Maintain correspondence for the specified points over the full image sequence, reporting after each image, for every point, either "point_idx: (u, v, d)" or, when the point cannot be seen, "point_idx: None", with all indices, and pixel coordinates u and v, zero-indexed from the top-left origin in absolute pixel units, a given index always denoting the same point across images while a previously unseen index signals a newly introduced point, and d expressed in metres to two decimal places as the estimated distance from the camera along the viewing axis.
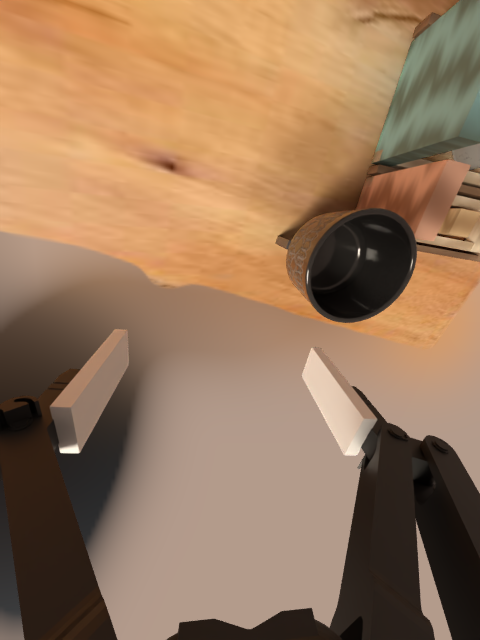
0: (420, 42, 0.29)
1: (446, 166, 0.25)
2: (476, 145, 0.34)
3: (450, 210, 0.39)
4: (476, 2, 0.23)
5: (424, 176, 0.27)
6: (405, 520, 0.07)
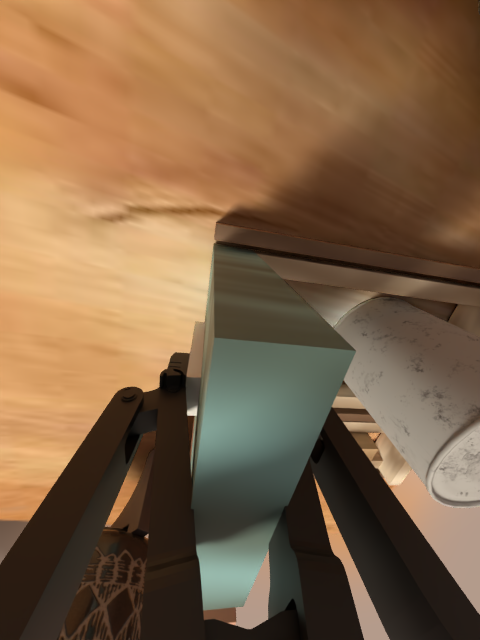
0: None
1: None
2: (349, 386, 0.20)
3: None
4: (209, 311, 0.10)
5: None
6: (305, 473, 0.08)
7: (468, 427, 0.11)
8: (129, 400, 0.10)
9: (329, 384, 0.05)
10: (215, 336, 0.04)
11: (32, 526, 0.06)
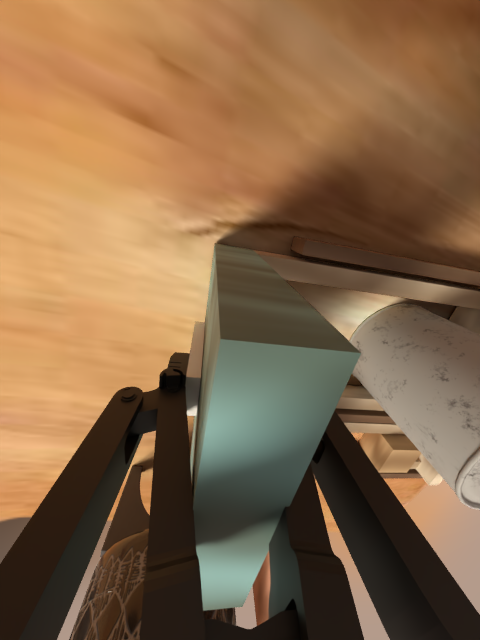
0: None
1: None
2: (370, 392, 0.21)
3: (381, 437, 0.27)
4: (211, 312, 0.10)
5: None
6: (305, 473, 0.08)
7: None
8: (129, 400, 0.10)
9: (332, 386, 0.05)
10: (221, 337, 0.04)
11: (31, 526, 0.06)
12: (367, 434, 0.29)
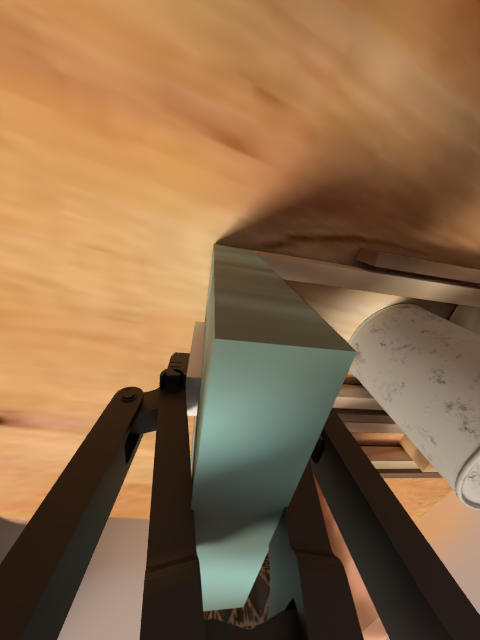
0: None
1: None
2: (371, 394, 0.21)
3: None
4: (209, 312, 0.10)
5: None
6: (305, 473, 0.08)
7: None
8: (129, 400, 0.10)
9: (329, 386, 0.05)
10: (215, 337, 0.04)
11: (31, 526, 0.06)
12: None
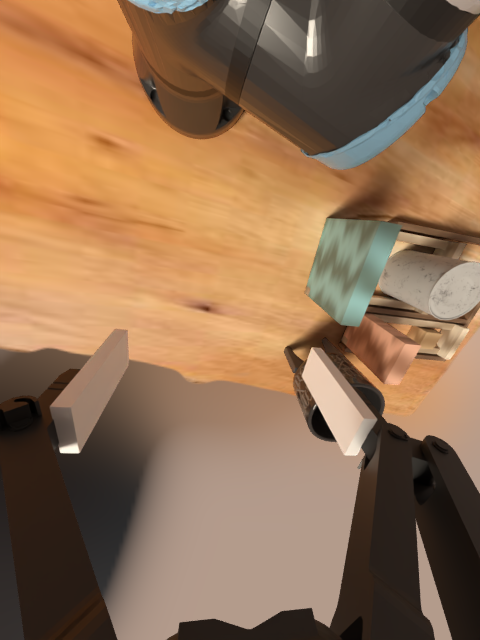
0: (330, 225, 0.39)
1: (404, 347, 0.36)
2: (392, 292, 0.44)
3: (419, 329, 0.51)
4: (352, 232, 0.33)
5: (391, 344, 0.38)
6: (405, 520, 0.07)
7: (439, 279, 0.34)
8: None
9: (396, 232, 0.28)
10: None
11: None
12: (410, 332, 0.53)
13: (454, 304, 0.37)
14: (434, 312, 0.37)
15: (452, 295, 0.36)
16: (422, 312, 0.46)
